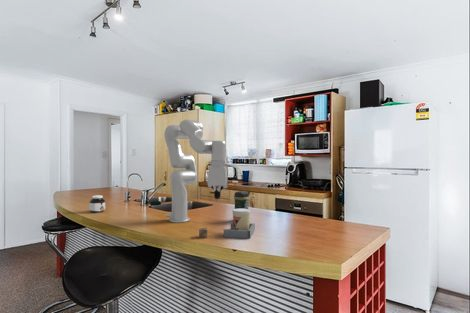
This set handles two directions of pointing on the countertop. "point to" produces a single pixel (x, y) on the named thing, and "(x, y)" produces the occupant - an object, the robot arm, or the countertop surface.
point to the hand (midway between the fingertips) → (217, 198)
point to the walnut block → (202, 232)
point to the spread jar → (97, 204)
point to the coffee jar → (241, 199)
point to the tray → (239, 232)
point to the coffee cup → (241, 219)
